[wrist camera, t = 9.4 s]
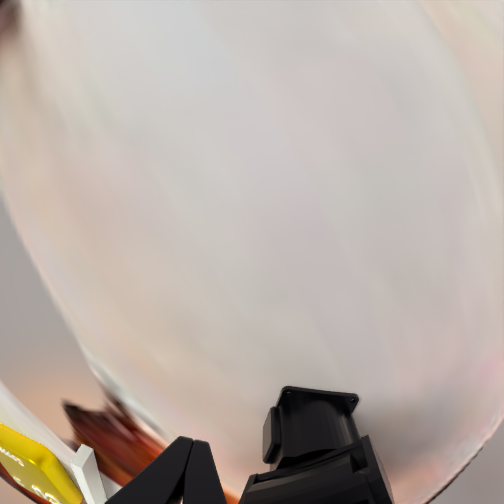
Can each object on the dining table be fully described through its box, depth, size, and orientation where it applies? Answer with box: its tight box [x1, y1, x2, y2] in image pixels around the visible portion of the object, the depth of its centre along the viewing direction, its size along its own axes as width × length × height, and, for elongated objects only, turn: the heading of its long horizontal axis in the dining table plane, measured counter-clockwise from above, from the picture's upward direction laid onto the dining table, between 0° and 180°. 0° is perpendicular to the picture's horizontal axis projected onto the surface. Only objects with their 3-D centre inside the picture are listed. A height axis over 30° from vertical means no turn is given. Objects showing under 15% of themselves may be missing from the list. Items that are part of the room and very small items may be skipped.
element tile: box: [0, 423, 83, 504], centre depth 25 cm, size 15×15×5 cm
